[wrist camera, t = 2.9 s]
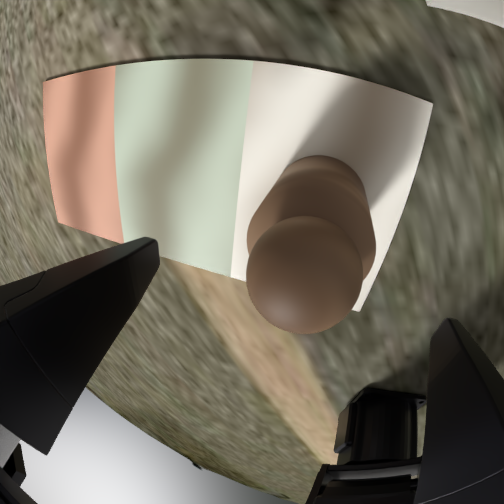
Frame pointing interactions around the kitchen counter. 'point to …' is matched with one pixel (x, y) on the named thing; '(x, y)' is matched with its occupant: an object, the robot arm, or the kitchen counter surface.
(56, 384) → the robot arm
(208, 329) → the kitchen counter surface
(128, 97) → the game strip
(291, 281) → the pawn
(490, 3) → the die
